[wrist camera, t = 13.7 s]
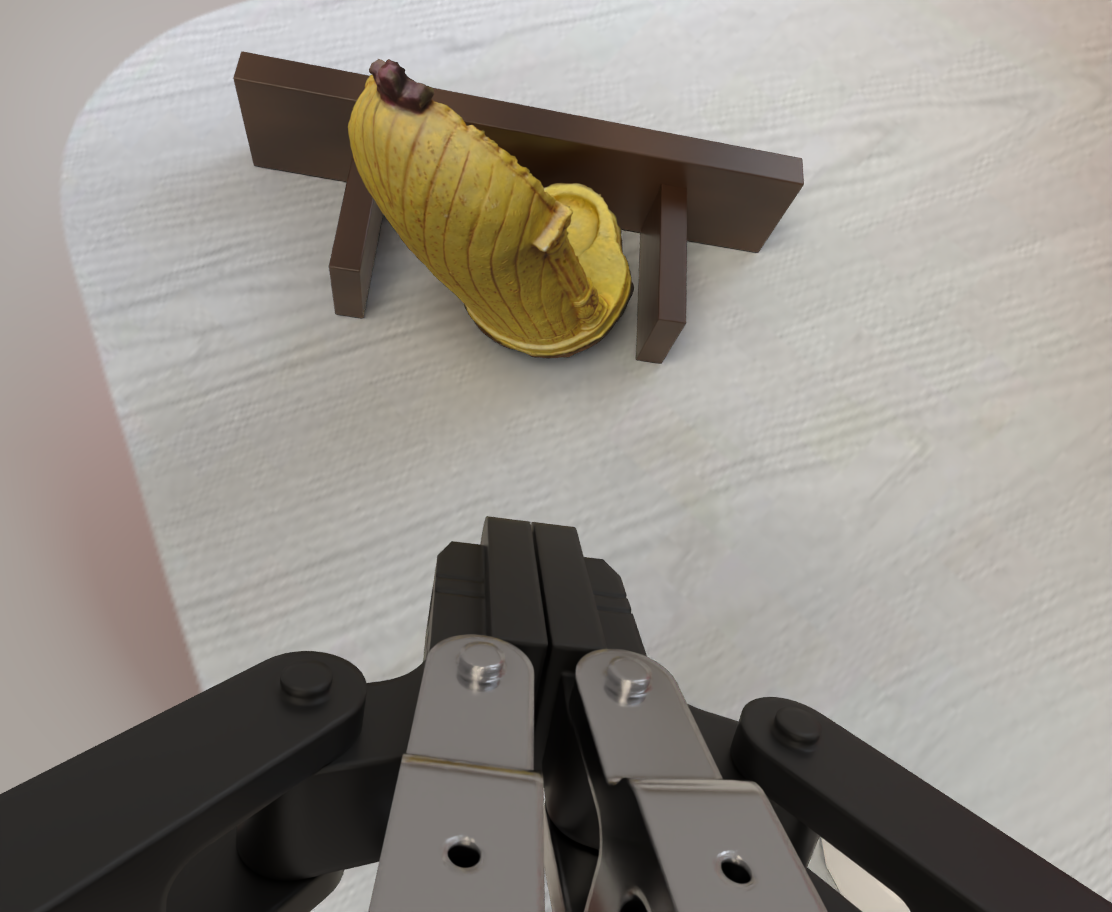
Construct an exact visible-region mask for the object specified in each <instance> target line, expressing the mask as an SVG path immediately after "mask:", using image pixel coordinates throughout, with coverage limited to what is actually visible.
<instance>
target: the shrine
mask: <svg viewBox="0 0 1112 912" xmlns="http://www.w3.org/2000/svg"><path fill="white" fill-rule="evenodd" d="M369 72H370V73H371V74H372V75H370V76H369V78H368V79H367V81H366V84H365V90H364V91H363V92H362V94H361V95H360V97H359V98H358V99H357V102H356V103H355V105H354V107H353V111H352V113H351V118H350V121H349V124H348V132H349V138H350V145H351V149H352V153H353V158H354V161H355V163H356V166H357V169H358V172H359V174H360V176H361V178H362V180H363V182H364V184H365V186H366V188H367V189H368V191H369V193H370V194H371V195H372V197H373V198H374V200H375V201H376V203H377V205H378V207H379V208H380V210H381V211H382V213H383V214H384V216H385V217H386V218H387V220H388V221H389V223H390V224H391V225H392V227H393V228H394V229H395V231H396V232H397V233H398V234H399V236H400V238H401V239H402V241H403V242H404V243H405V244H406V246H407V247H408V248H409V250H411V251H412V252H413V253H414V254H415V255H416V257H417V258H418V259H419V260H420V261H421V262H422V263H423V264H425V265H426V267H427V268H428V269H429V270H430V271H431V272H432V274H433V275H434V276H435V277H436V278H437V279H438V280H439V281H441V282H442V283H443V284H444V285H445V286H446V287H447V288H449V289H450V290H451V291H452V292H453V293H454V294H455V295H456V296H457V297H458V298H459V299H460V300H461V301H462V302H463V303H464V306H465V308H466V310H467V312H468V314H469V315H470V317H471V318H472V319H473V320H474V322H475V324H476V325H477V326H478V328H479V329H480V330H481V331H482V332H483V333H484V334H485V335H487V336H488V337H490V338H491V339H492V340H494V341H495V342H497V343H499V344H501V345H502V346H504V347H507V348H510V349H514V350H518V351H520V352H524V353H526V354H528V355H530V356H532V357H542V358H559V357H570V356H572V355H574V354H576V353H578V352H581V351H583V350H586V349H588V348H590V347H592V346H593V345H595V344H597V343H598V342H600V340H602V339H603V338H604V337H605V336H606V335H607V334H608V333H609V331H610V330H611V329H612V328H613V326H614V325H615V323H616V322H617V321H618V320H619V318H620V317H621V316H622V315H623V313H624V310H625V309H626V307H627V304H628V302H629V300H630V297H631V296H632V293H633V291H634V286H633V283H632V281H631V273H630V270H629V265H628V261H627V260H626V257H625V256H624V255H623V253H622V239H621V229H620V227H619V226H618V223H617V218H616V216H615V214H614V213H612V212H611V210H609V209H608V205H607V204H606V203H605V202H604V199H603V197H601V194H599V195H598V194H597V193H595V192H594V191H593V189H591V188H589V187H587V186H585V185H582V184H578V183H573V184H565V183H555V184H552V185H550V186H548V187H545V188H543V186H542V185H541V182H540V181H539V180H538V179H536V178H535V177H533V176H532V174H530V173H529V172H530V171H529V169H527V168H526V167H522V166H520V165H519V164H518V163H517V161H518V160H517V159H516V157H515V156H511V155H510V154H509V153H508V152H507V151H505V150H504V149H502V148H500V147H498V144H496V143H495V141H493V140H490V138H489V137H486V135H485V134H484V133H485V131H483V130H482V131H481V130H480V131H479V129H477V128H476V127H474V126H473V125H469V126H466V124H465V122H464V120H463V119H462V117H460V116H459V115H458V114H457V113H455V112H454V111H453V110H452V109H451V108H449V107H448V106H447V105H445V104H442V103H437V102H435V101H433V100H432V97H433V95H434V90H433V88H432V87H429V86H426V85H424V84H422V83H416V82H415V81H414V80H412V79H410V78H409V77H407V76H406V74H405V69H404V68H402V67H400V66H399V64H398V62H394V61H391V60H389V59H388V60H387V61H386V62H384V61H383V60H380V59H378V60H377V61H375V62H373V63H372V64H371V67H370V69H369Z"/></svg>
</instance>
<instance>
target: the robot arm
mask: <svg viewBox="0 0 1112 912" xmlns="http://www.w3.org/2000/svg"><path fill="white" fill-rule="evenodd" d="M544 792H545V804H544ZM819 836H820V837H822V838H823V839H824V840H826V841H827V842H828V843H829V844H831V845H832V846H833V847H835V848H836V849H837V850H839V851H840V852H841V853H843V854H844V855H845V856H847V857H848V858H849V859H850V860H852V861H853V862H854V863H856V864H857V865H858V866H860V867H861V868H862V869H864V870H865V871H866V872H868V873H869V874H870V875H871V876H873V877H874V878H875V879H877V880H878V881H879V882H881V883H882V884H883V885H885V886H886V887H887V888H889V889H890V890H891V891H892V892H894V893H895V894H896V895H897V896H899V897H900V898H901V900H902V901H903V902H904V903H905V904H906V905H907V907H908V908H909V910H910V912H1112V903H1111V902H1109V901H1107V900H1106V899H1104V898H1103V897H1101V896H1100V895H1098V894H1097V893H1095V892H1094V891H1092V890H1091V889H1089V888H1088V887H1086V886H1084V885H1083V884H1081V883H1080V882H1078V881H1077V880H1075V879H1074V878H1072V877H1071V876H1069V875H1068V874H1066V873H1065V872H1063V871H1061V870H1060V869H1058V868H1057V867H1055V866H1054V865H1052V864H1051V863H1049V862H1048V861H1046V860H1045V859H1043V858H1042V857H1040V856H1039V855H1037V854H1035V853H1034V852H1032V851H1031V850H1029V849H1028V848H1026V847H1025V846H1023V845H1022V844H1020V843H1019V842H1017V841H1016V840H1014V839H1012V838H1011V837H1009V836H1008V835H1006V834H1005V833H1003V832H1002V831H1000V830H999V829H997V828H996V827H994V826H993V825H991V824H989V823H988V822H986V821H985V820H983V819H982V818H980V817H979V816H977V815H976V814H974V813H973V812H971V811H970V810H968V809H967V808H965V807H963V806H962V805H960V804H959V803H957V802H956V801H954V800H953V799H951V798H950V797H948V796H947V795H945V794H944V793H942V792H940V791H939V790H937V789H936V788H934V787H933V786H931V785H930V784H928V783H927V782H925V781H924V780H922V779H921V778H919V777H918V776H916V775H914V774H913V773H911V772H910V771H908V770H907V769H905V768H904V767H902V766H901V765H899V764H898V763H896V762H895V761H893V760H891V759H890V758H888V757H887V756H885V755H884V754H882V753H881V752H879V751H878V750H876V749H875V748H873V747H872V746H870V745H868V744H867V743H865V742H864V741H862V740H861V739H859V738H858V737H856V736H855V735H853V734H852V733H850V732H849V731H847V730H846V729H844V728H842V727H841V726H839V725H838V724H836V723H835V722H833V721H832V720H830V719H829V718H827V717H826V716H824V715H823V714H821V713H819V712H818V711H816V710H814V709H812V708H810V707H808V706H806V705H804V704H801V703H798V702H796V701H792V700H788V699H784V698H778V697H763V698H758V699H755V700H752V701H750V702H749V703H748V704H746V705H745V707H744V708H743V710H742V713H741V716H740V719H739V722H738V721H735V720H732V719H729V718H726V717H722V716H719V715H716V714H713V713H710V712H707V711H704V710H701V709H698V708H695V707H693V706H691V705H689V704H687V703H686V701H685V699H684V697H683V695H682V692H681V690H680V688H679V686H678V684H677V682H676V680H675V679H674V677H673V676H672V675H671V674H670V672H669V671H668V670H666V669H665V668H664V667H663V666H662V665H660V664H659V663H657V662H656V661H654V660H652V659H650V658H648V657H647V656H646V653H645V650H644V647H643V644H642V640H641V637H640V634H639V631H638V628H637V625H636V622H635V619H634V616H633V614H631V607H630V604H629V601H628V599H627V598H626V592H625V589H624V586H623V583H622V580H621V577H620V576H619V575H618V574H617V573H616V572H615V571H614V570H613V569H612V568H611V567H610V566H609V565H608V564H607V563H606V562H605V561H604V560H603V559H596V558H587V557H583V553H582V549H581V545H580V541H579V537H578V534H577V530H576V528H575V527H569V526H561V525H553V524H545V523H537V522H532V523H531V525H530V522H528V521H520V520H512V519H504V518H496V517H488V516H487V517H486V519H485V522H484V527H483V532H482V538H481V544H480V545H478V544H470V543H462V542H453V541H452V542H451V543H450V544H449V545H448V546H447V547H446V548H445V549H444V550H443V551H442V552H441V553H440V554H439V555H438V556H437V563H436V569H435V576H434V583H433V589H432V596H431V602H430V609H429V616H428V622H427V629H426V636H425V647H424V658H423V663H422V664H421V665H420V666H419V667H417V668H416V669H415V670H413V671H411V672H410V673H408V674H405V675H403V676H401V677H398V678H394V679H391V680H385V681H380V682H372V683H366V680H365V678H364V676H363V674H362V672H361V671H360V670H359V669H358V668H357V667H356V666H355V665H353V664H352V663H350V662H349V661H347V660H345V659H343V658H341V657H338V656H335V655H332V654H328V653H323V652H316V651H299V652H290V653H285V654H281V655H278V656H274V657H272V658H270V659H267V660H265V661H263V662H261V663H259V664H257V665H255V666H253V667H251V668H249V669H247V670H245V671H243V672H241V673H239V674H237V675H235V676H233V677H231V678H229V679H228V680H226V681H224V682H222V683H220V684H218V685H216V686H214V687H212V688H210V689H208V690H206V691H204V692H202V693H200V694H198V695H196V696H194V697H192V698H190V699H188V700H186V701H184V702H182V703H180V704H178V705H176V706H174V707H172V708H170V709H168V710H166V711H164V712H162V713H160V714H158V715H156V716H154V717H152V718H150V719H148V720H146V721H144V722H143V723H140V724H139V725H137V726H134V727H133V728H131V729H129V730H127V731H125V732H123V733H121V734H119V735H117V736H115V737H113V738H111V739H109V740H107V741H105V742H103V743H101V744H99V745H97V746H95V747H93V748H91V749H89V750H87V751H85V752H83V753H81V754H79V755H77V756H75V757H73V758H71V759H69V760H67V761H65V762H63V763H61V764H59V765H57V766H55V767H53V768H52V769H49V770H48V771H45V772H43V773H41V774H39V775H38V776H36V777H34V778H32V779H30V780H28V781H26V782H24V783H22V784H20V785H18V786H16V787H14V788H12V789H10V790H8V791H6V792H4V793H2V794H0V912H310V911H311V910H312V909H313V908H315V907H316V906H317V905H318V904H319V903H320V902H322V901H323V900H324V899H325V898H326V897H327V896H328V895H329V894H330V893H331V892H332V891H333V890H334V889H335V888H336V886H337V885H338V884H339V882H340V880H341V878H342V876H343V872H344V870H345V869H349V868H354V867H358V866H362V865H367V864H371V863H375V862H379V866H378V870H377V875H376V880H375V884H374V889H373V893H372V898H371V902H370V907H369V911H368V912H545V893H544V869H545V874H546V880H547V885H548V890H549V896H550V901H551V907H552V912H862V911H861V910H860V909H858V908H857V907H856V906H855V905H853V904H852V903H851V902H850V901H848V900H847V899H846V898H845V897H843V896H842V895H841V894H840V893H838V892H837V891H836V890H835V889H833V888H832V887H831V886H830V885H828V884H827V883H826V882H825V881H823V880H822V879H821V878H820V877H818V876H817V875H816V874H815V873H813V872H812V871H811V870H810V869H808V868H807V866H808V863H809V861H810V858H811V856H812V853H813V851H814V848H815V846H816V843H817V841H818V838H819Z"/></svg>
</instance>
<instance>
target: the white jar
mask: <svg viewBox="0 0 1112 912" xmlns="http://www.w3.org/2000/svg"><path fill="white" fill-rule="evenodd" d="M821 838H822V837H821ZM822 844H823V850H824V856H825V862H826V866H827V868H828V870H829V872H830V874H831V876H832V878H833V880H834V881H835V883H836V885H837V887H838V889H839V891H840V893H841V894H842V895H843V896H844V897H845V898H846V899H847V900H849V901H850V902H851V903H852V904H853V905H855V906H856V907H857V908H858V909H860V910H861V911H862V912H910V910H909V908H908V907H907V905H906V904H905V903H904V902H903V901H902V900H901V898H900V897H899V896H897V895H896V894H895V893H894V892H892V891H891V890H890V889H889V888H887V887H886V886H885V885H883V884H882V883H881V882H879V881H878V880H877V879H875V878H874V877H873V876H871V875H870V874H869V873H868V872H866V871H865V870H864V869H862V868H861V867H860V866H858V865H857V864H856V863H854V862H853V861H852V860H850V859H849V858H848V857H847V856H845V855H844V854H843V853H841V852H840V851H839V850H837V849H836V848H835V847H833V846H832V845H831V844H829V843H828V842H827V841H826V840H824V839H823V838H822Z"/></svg>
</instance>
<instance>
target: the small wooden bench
mask: <svg viewBox="0 0 1112 912" xmlns="http://www.w3.org/2000/svg"><path fill="white" fill-rule="evenodd" d="M368 78H369V76H368V75H363V74H358V73H352V72H347V71H342V70H337V69H331V68H326V67H321V66H316V65H310V64H305V63H300V62H295V61H290V60H284V59H279V58H274V57H269V56H263V55H258V54H253V53H248V52H241V54H240V58H239V61H238V64H237V68H236V71H235V74H234V83H235V87H236V91H237V95H238V100H239V104H240V108H241V113H242V117H243V121H244V125H245V130H246V134H247V138H248V142H249V147H250V151H251V155H252V159H253V164H254V165H255V166H259V167H265V168H271V169H277V170H282V171H288V172H294V173H300V174H306V175H311V176H317V177H323V178H329V179H335V180H340V181H346V182H347V183H346V188H345V193H344V198H343V202H342V207H341V212H340V216H339V221H338V226H337V230H336V235H335V240H334V244H333V249H332V254H331V259H330V263H329V271H330V279H331V286H332V293H333V301H334V308H335V314H337V315H344V316H350V317H357V318H363V317H364V313H365V308H366V302H367V297H368V292H369V286H370V281H371V276H372V270H373V265H374V260H375V254H376V249H377V244H378V238H379V233H380V228H381V222H382V217H383V213H382V211H381V210H380V208H379V207H378V205H377V203H376V201H375V200H374V198H373V197H372V195H371V194H370V193H369V191H368V189H367V188H366V186H365V184H364V182H363V180H362V178H361V176H360V174H359V172H358V169H357V166H356V163H355V161H354V158H353V153H352V149H351V145H350V138H349V132H348V124H349V121H350V118H351V113H352V111H353V107H354V105H355V103H356V102H357V99H358V98H359V97H360V95H361V94H362V92H363V91H364V90H365V84H366V81H367V79H368ZM433 90H434V95H433V97H432V100H433V101H435V102H437V103H442V104H445V105H447V106H448V107H449V108H451V109H452V110H453V111H454V112H455V113H457V114H458V115H459V116H460V117H462V119H463V120H464V122H465V124H466V126H469V125H473V126H474V127H476V128H477V129H479V131H480V130H481V131H482V130H483V131H485V133H484V134H485V135H486V137H489V138H490V140H493V141H495V143H496V144H498V147H500V148H502V149H504V150H505V151H507V152H508V153H509V154H510V155H511V156H515V157H516V159H517V160H518V161H517V163H518V164H519V165H520V166H522V167H526V168H527V169H529V171H530V172H529V173H530V174H532V176H533V177H535V178H536V179H538V180H539V181H540V182H541V185H542V186H543V188H545V187H548V186H550V185H552V184H555V183H565V184H573V183H578V184H582V185H585V186H587V187H589V188H591V189H593V191H594V192H595V193H597V194H598V195H599V194H601V197H603V199H604V202H605V203H606V204H607V205H608V209H609V210H611V212H612V213H614V214H615V216H616V218H617V223H618V226H619V227H620V229H624V230H629V231H635V232H640V256H639V285H638V314H637V343H636V360H641V361H647V362H654V363H662V362H663V360H664V358H665V357H666V355H667V353H668V352H669V350H670V349H671V347H672V345H673V344H674V342H675V341H676V339H677V337H678V336H679V334H680V332H681V331H682V329H683V328H684V326H685V324H686V272H687V241H693V242H699V243H704V244H710V245H716V246H722V247H728V248H733V249H739V250H745V251H751V252H756V253H758V252H759V251H760V249H761V248H762V246H763V245H764V243H765V242H766V240H767V239H768V237H769V236H770V234H771V233H772V231H773V230H774V228H775V227H776V225H777V224H778V222H779V221H780V219H781V218H782V216H783V215H784V213H785V212H786V210H787V209H788V207H789V206H790V204H791V203H792V202H793V200H794V199H795V197H796V196H797V194H798V193H799V191H800V190H801V188H802V187H803V185H804V178H803V162H802V158H797V157H792V156H787V155H782V154H776V153H771V152H766V151H761V150H755V149H750V148H745V147H740V146H734V145H729V144H724V143H719V142H713V141H708V140H703V139H698V138H693V137H687V136H682V135H677V134H672V133H666V132H661V131H656V130H651V129H645V128H640V127H635V126H630V125H625V124H619V123H614V122H609V121H604V120H598V119H593V118H588V117H583V116H577V115H572V114H567V113H562V112H556V111H551V110H546V109H541V108H536V107H530V106H525V105H520V104H515V103H509V102H504V101H499V100H494V99H488V98H483V97H478V96H473V95H467V94H462V93H457V92H452V91H447V90H441V89H436V88H433Z"/></svg>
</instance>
